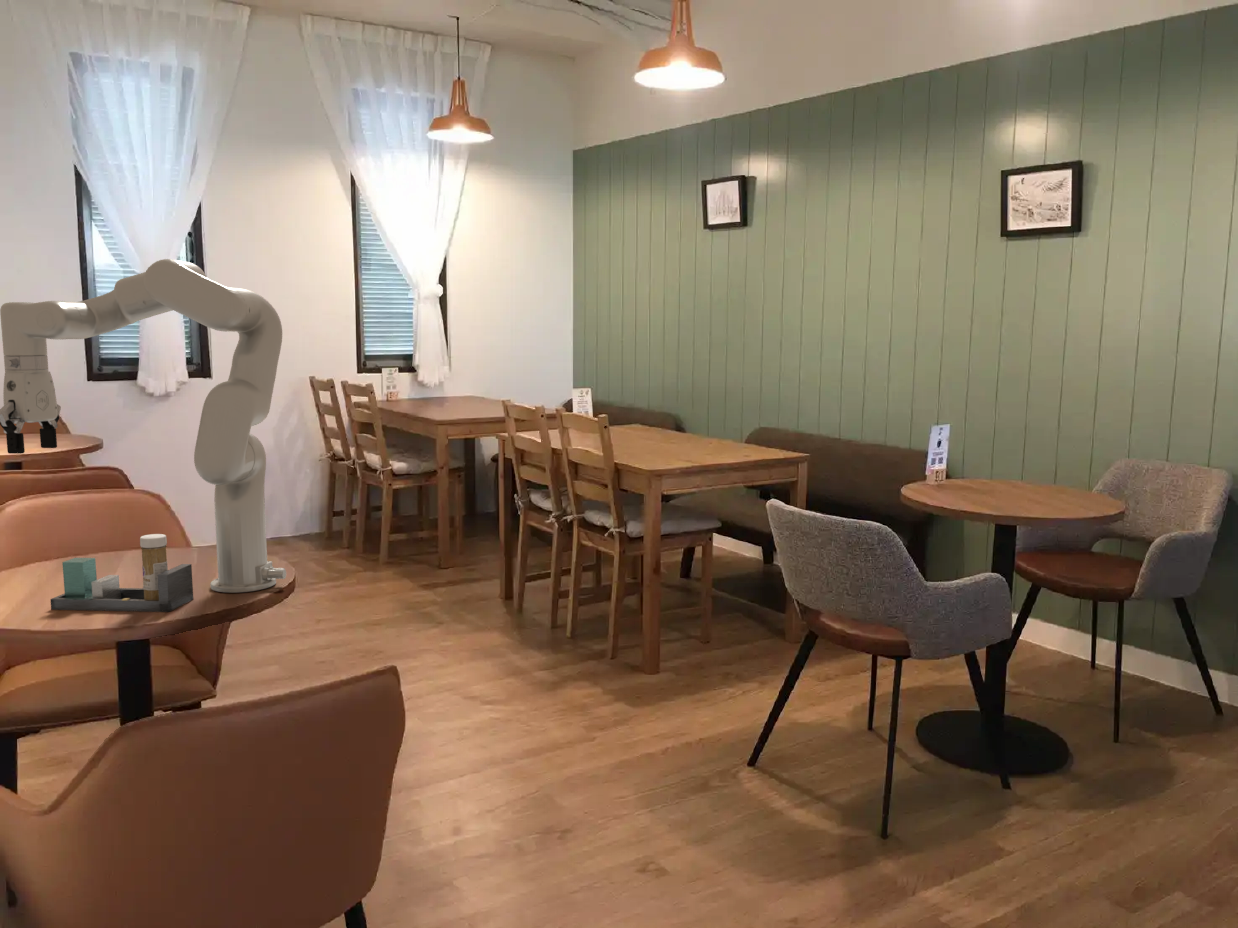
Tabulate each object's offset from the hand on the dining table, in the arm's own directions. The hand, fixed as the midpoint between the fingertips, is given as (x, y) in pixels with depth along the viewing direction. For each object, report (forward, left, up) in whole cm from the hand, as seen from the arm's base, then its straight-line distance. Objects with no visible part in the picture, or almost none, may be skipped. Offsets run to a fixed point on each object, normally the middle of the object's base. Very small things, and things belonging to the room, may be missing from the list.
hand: (33, 450), depth 202 cm
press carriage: (-18, +12, -28) cm, 35 cm away
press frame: (-24, +12, -28) cm, 39 cm away
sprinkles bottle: (-31, +12, -28) cm, 44 cm away
